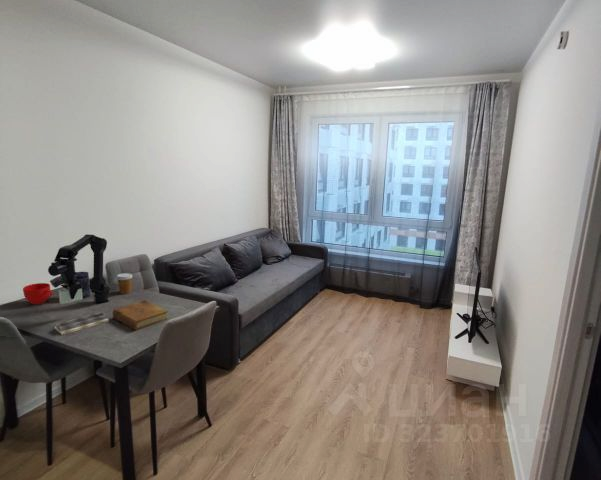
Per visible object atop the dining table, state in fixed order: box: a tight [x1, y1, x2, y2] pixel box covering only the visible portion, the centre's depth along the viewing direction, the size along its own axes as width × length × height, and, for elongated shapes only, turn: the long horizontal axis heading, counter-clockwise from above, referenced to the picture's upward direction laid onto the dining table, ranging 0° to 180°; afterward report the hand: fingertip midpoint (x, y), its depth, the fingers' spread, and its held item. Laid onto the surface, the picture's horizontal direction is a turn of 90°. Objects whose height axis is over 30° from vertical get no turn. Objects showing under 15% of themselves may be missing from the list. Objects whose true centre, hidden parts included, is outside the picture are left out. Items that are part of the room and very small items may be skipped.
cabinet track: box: [54, 311, 109, 336], centre depth 185 cm, size 22×10×3 cm, turn 141°
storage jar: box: [75, 271, 91, 300], centre depth 221 cm, size 10×10×15 cm
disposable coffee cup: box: [116, 272, 134, 295], centre depth 232 cm, size 10×10×12 cm
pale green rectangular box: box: [58, 288, 84, 305], centre depth 190 cm, size 10×3×7 cm, turn 141°
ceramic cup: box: [22, 282, 53, 305], centre depth 210 cm, size 13×17×10 cm
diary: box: [112, 300, 169, 331], centre depth 195 cm, size 23×19×6 cm
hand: (71, 298), depth 191 cm, fingers closed on pale green rectangular box, 3 cm apart
